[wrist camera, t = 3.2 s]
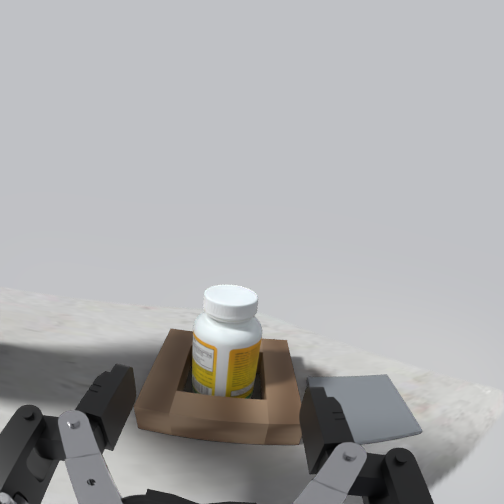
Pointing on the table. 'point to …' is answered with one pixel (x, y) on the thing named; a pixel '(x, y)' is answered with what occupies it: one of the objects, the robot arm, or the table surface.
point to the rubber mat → (370, 407)
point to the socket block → (221, 399)
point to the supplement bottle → (226, 343)
